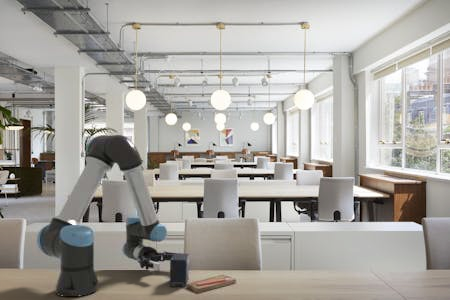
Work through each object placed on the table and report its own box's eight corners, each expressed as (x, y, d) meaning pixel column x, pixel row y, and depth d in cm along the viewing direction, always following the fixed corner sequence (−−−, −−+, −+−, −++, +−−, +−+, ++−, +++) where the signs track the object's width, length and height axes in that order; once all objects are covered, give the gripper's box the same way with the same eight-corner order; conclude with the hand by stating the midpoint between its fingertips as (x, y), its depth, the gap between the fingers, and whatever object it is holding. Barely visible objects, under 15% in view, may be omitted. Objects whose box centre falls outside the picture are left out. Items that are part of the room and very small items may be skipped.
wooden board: (186, 287, 166) (186, 283, 166) (222, 278, 177) (222, 274, 177) (198, 292, 160) (198, 288, 160) (236, 282, 171) (236, 278, 171)
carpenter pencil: (198, 286, 162) (198, 284, 162) (196, 285, 163) (196, 283, 163) (229, 280, 169) (229, 278, 169) (228, 279, 170) (228, 277, 170)
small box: (186, 287, 166) (186, 259, 166) (169, 287, 166) (169, 259, 166) (189, 278, 177) (189, 252, 177) (173, 278, 177) (173, 252, 177)
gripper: (169, 258, 201) (197, 267, 185) (119, 268, 184) (146, 279, 168) (169, 241, 201) (197, 250, 185) (119, 250, 184) (145, 260, 168)
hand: (173, 264), depth 176 cm, fingers open, 13 cm apart
